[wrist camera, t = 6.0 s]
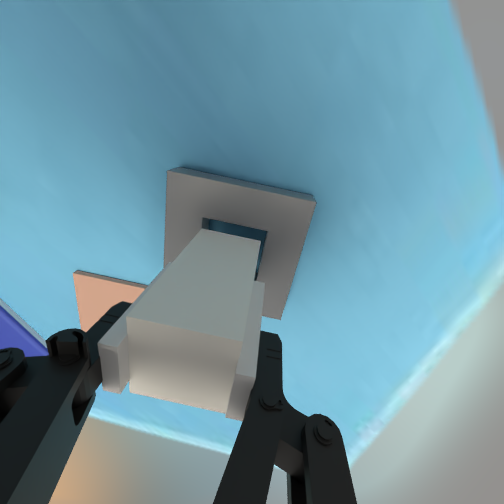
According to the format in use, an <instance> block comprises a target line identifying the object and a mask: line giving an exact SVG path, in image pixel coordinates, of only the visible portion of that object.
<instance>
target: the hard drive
mask: <svg viewBox="0 0 504 504" xmlns="http://www.w3.org/2000/svg"><path fill="white" fill-rule="evenodd" d="M9 347H12V348H19V349H21V350H23V352H24V354H25V357H31V356H47V355H49V353H48V349H47V345H46V341H45V340H44V339H43V338H42V337H41V336H40V335H39V334H38V333H37V332H36V331H35V330H34V329H32V328H31V327H30V326H29V325H28V324H27V323H26V322H25V321H24V320H23V319H22V318H21V317H20V316H19V315H18V314H16V313H15V312H14V311H13V310H12V309H11V308H10V307H9V306H8V305H7V304H6V303H5V302H4V301H3V300H2V299H0V349H4V348H9Z"/></svg>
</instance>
